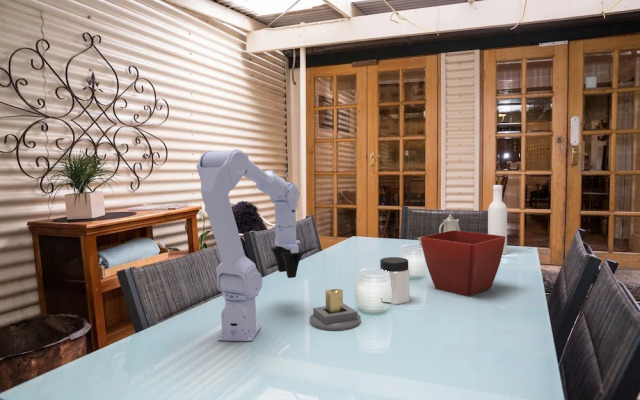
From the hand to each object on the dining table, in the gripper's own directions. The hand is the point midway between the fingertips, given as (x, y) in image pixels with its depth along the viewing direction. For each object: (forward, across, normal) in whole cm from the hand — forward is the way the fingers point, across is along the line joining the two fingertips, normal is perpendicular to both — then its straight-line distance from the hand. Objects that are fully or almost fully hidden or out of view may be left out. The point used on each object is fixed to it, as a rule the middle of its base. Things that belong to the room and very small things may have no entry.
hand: (287, 274), depth 123 cm
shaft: (+9, -15, -8) cm, 19 cm away
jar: (+10, -6, -31) cm, 33 cm away
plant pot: (+10, -6, -56) cm, 58 cm away
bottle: (+10, +30, -108) cm, 112 cm away
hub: (+10, -15, -8) cm, 19 cm away
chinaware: (+10, +53, -98) cm, 112 cm away
